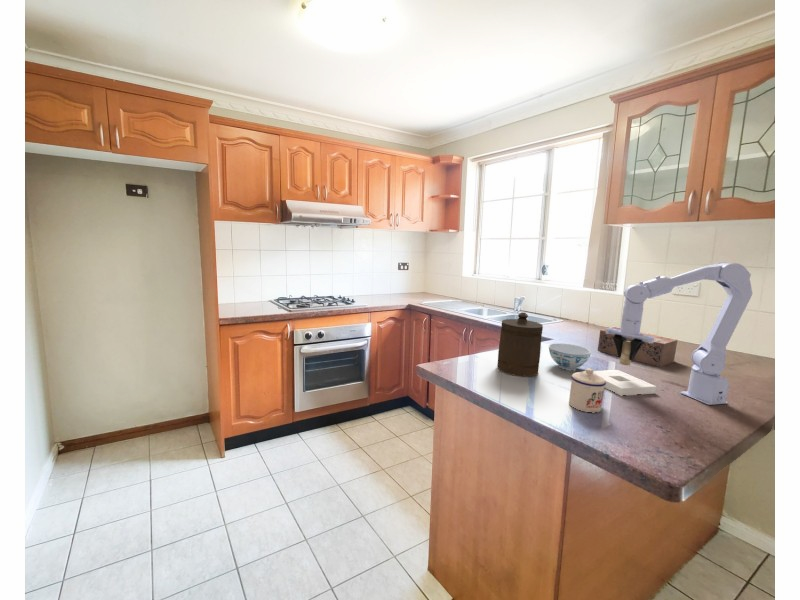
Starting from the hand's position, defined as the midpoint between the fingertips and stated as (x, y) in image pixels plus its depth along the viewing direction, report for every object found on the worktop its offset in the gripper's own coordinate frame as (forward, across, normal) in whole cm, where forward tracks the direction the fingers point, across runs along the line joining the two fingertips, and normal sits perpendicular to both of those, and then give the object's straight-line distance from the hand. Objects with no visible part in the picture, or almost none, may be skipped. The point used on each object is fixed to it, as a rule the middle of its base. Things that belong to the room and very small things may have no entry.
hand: (625, 358), depth 129 cm
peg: (+2, 0, 0) cm, 2 cm away
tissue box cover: (+10, +13, -44) cm, 47 cm away
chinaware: (+10, +20, 0) cm, 22 cm away
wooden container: (+10, +28, +20) cm, 36 cm away
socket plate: (+10, 0, +2) cm, 10 cm away
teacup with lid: (+10, -2, +29) cm, 31 cm away
